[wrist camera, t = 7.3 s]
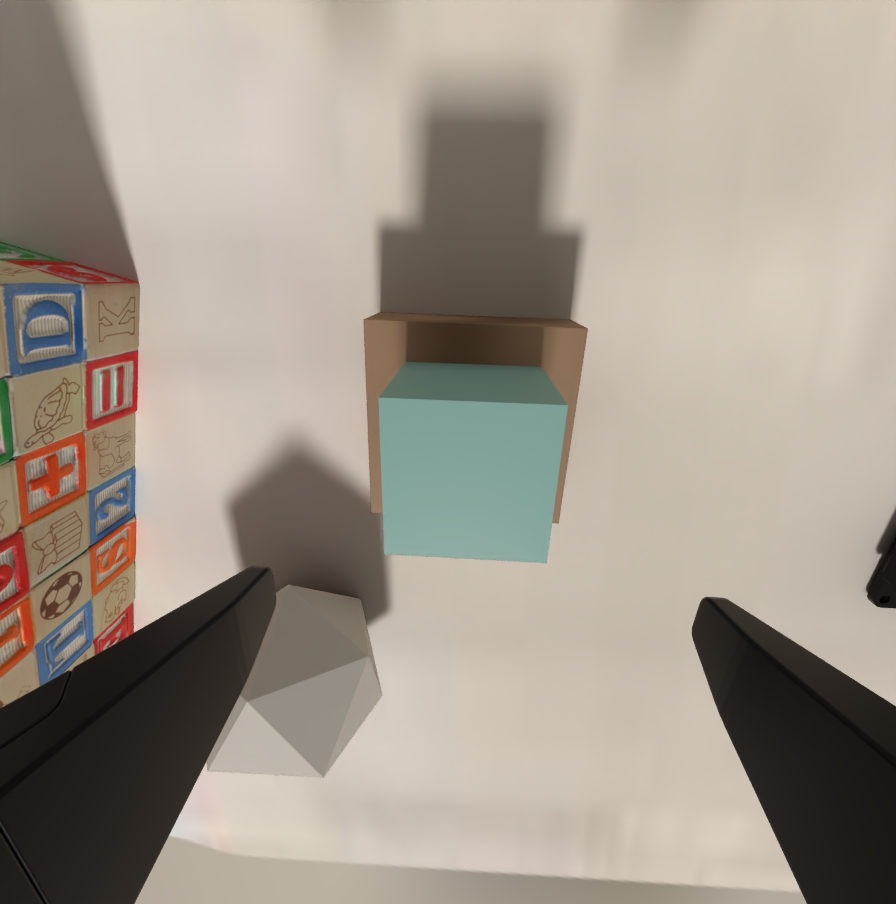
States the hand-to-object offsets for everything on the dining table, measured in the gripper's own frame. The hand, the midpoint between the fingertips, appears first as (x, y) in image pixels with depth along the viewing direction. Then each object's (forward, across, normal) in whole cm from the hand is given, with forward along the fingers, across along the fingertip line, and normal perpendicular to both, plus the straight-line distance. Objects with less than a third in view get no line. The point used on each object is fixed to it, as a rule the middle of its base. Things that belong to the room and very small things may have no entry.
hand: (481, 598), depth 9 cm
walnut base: (+12, 0, -1) cm, 12 cm away
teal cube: (+9, 0, -1) cm, 9 cm away
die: (+12, +8, +12) cm, 19 cm away
